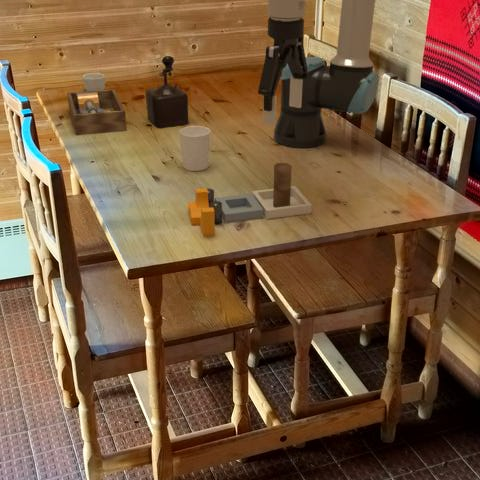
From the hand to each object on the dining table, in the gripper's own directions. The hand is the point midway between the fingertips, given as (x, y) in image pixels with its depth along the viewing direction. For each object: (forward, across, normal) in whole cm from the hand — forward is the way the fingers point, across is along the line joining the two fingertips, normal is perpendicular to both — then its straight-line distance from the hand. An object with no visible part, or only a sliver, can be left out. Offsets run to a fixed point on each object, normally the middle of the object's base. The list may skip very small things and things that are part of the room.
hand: (282, 115), depth 161 cm
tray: (+23, 0, 0) cm, 23 cm away
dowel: (+22, 0, 0) cm, 22 cm away
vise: (+23, +28, +78) cm, 86 cm away
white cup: (+23, +12, +30) cm, 40 cm away
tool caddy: (+23, +28, +76) cm, 84 cm away
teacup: (+23, +53, +96) cm, 113 cm away
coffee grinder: (+23, +40, +58) cm, 75 cm away
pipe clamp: (+23, -17, +12) cm, 31 cm away
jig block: (+23, -8, +7) cm, 25 cm away
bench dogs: (+23, -12, +12) cm, 28 cm away
